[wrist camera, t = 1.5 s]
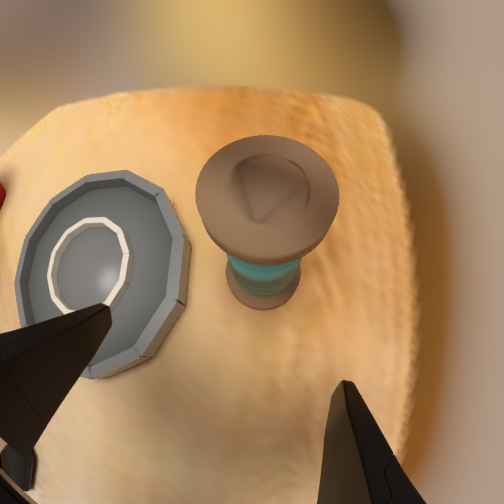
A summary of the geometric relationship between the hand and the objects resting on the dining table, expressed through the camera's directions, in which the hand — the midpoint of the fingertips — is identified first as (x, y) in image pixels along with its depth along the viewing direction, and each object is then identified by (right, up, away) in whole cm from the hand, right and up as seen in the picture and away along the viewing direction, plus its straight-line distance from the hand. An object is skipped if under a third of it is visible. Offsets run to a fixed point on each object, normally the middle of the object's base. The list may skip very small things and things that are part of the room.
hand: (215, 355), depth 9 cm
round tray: (-14, +2, +15) cm, 20 cm away
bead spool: (+2, +2, +14) cm, 15 cm away
